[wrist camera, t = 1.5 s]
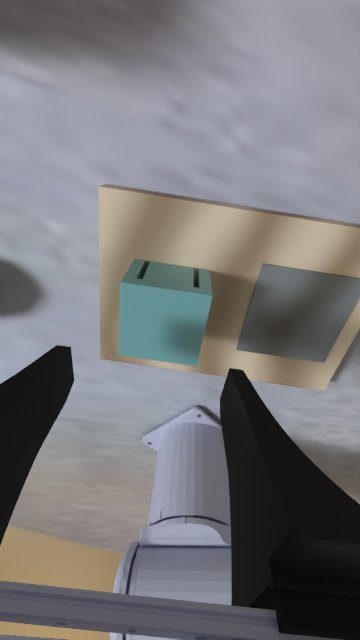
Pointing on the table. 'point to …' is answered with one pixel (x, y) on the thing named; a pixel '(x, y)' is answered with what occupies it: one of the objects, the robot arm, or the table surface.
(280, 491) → the robot arm
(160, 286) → the teal slotted block
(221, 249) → the post board
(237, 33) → the table surface
